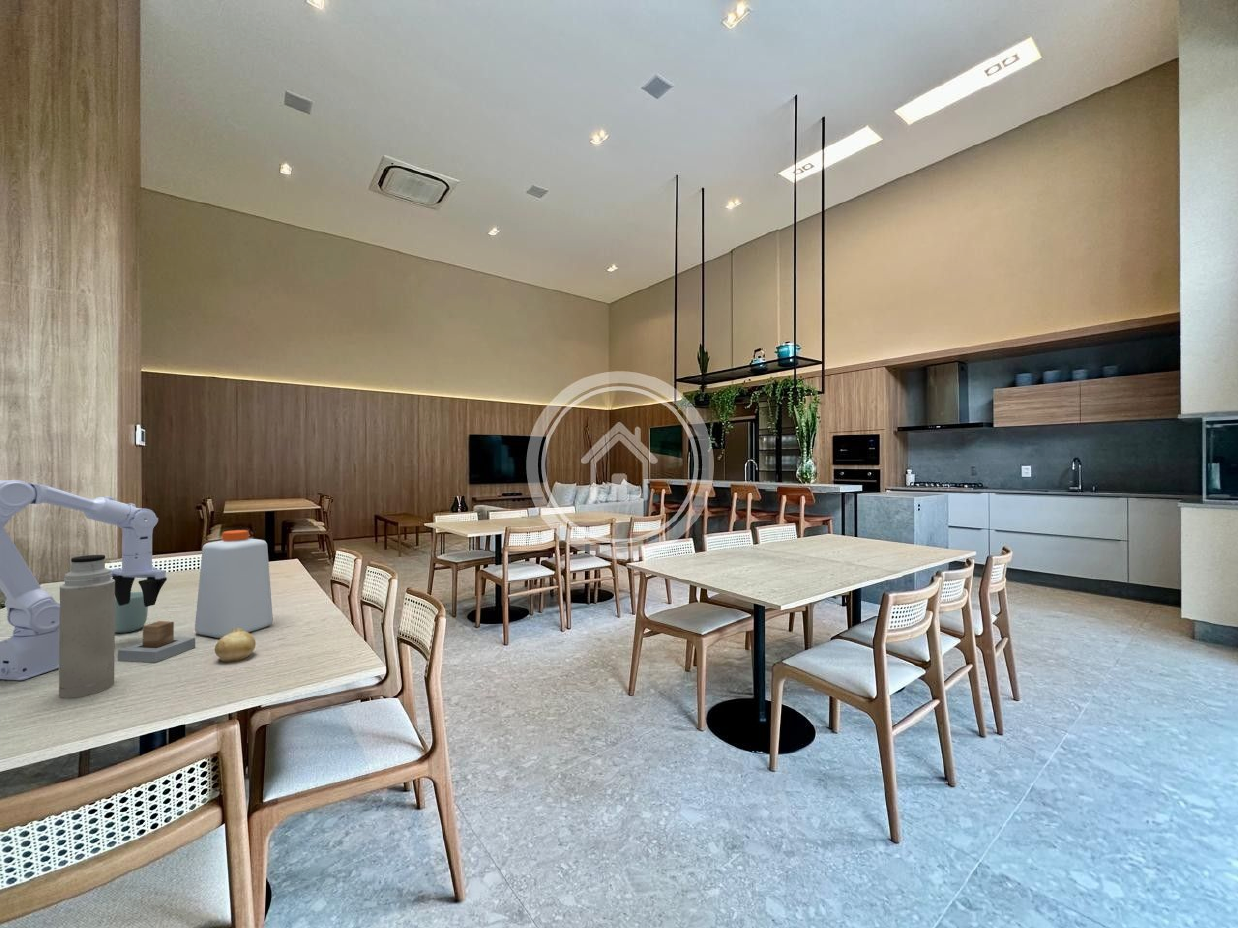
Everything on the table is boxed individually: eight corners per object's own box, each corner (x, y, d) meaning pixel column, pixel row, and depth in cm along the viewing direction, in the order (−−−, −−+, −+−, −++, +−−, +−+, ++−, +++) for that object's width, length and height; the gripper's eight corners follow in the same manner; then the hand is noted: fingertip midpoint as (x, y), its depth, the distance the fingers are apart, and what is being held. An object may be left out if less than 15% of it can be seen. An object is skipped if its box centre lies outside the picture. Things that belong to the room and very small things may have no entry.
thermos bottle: (57, 690, 105) (58, 556, 104) (111, 677, 111) (112, 551, 111) (60, 701, 100) (61, 561, 99) (116, 688, 106) (117, 555, 106)
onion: (263, 654, 125) (263, 625, 125) (231, 666, 118) (231, 636, 118) (239, 650, 127) (239, 622, 127) (206, 662, 120) (206, 633, 120)
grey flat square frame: (155, 662, 119) (155, 652, 119) (117, 660, 120) (118, 650, 120) (195, 647, 129) (195, 637, 129) (160, 645, 130) (160, 635, 130)
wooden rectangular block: (157, 655, 122) (157, 626, 122) (142, 654, 123) (142, 626, 123) (173, 649, 126) (173, 621, 126) (159, 648, 127) (159, 620, 127)
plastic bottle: (244, 618, 153) (244, 526, 153) (279, 624, 148) (280, 529, 148) (187, 634, 139) (188, 533, 138) (224, 641, 134) (225, 536, 133)
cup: (155, 626, 144) (155, 592, 144) (125, 636, 137) (126, 599, 137) (130, 625, 145) (131, 591, 145) (100, 634, 138) (100, 598, 137)
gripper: (177, 551, 135) (176, 601, 135) (128, 550, 136) (128, 599, 137) (150, 556, 128) (149, 609, 128) (99, 554, 129) (99, 607, 129)
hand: (136, 605), depth 132 cm, fingers open, 7 cm apart
